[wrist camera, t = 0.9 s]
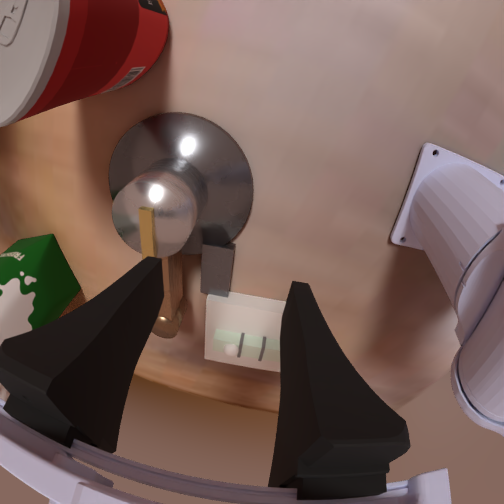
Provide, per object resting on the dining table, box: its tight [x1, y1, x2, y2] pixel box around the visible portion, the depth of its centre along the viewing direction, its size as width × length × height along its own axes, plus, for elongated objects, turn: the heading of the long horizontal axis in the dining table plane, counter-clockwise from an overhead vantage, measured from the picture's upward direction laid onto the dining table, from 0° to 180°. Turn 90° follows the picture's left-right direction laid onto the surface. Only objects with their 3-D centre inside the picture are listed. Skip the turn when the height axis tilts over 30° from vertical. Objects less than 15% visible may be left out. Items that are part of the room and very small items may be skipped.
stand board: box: [204, 292, 286, 372], centre depth 27 cm, size 9×9×4 cm
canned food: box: [0, 0, 169, 127], centre depth 10 cm, size 8×8×11 cm
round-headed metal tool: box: [112, 158, 208, 338], centre depth 21 cm, size 14×5×5 cm, turn 172°
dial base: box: [109, 112, 254, 298], centre depth 21 cm, size 11×14×1 cm
